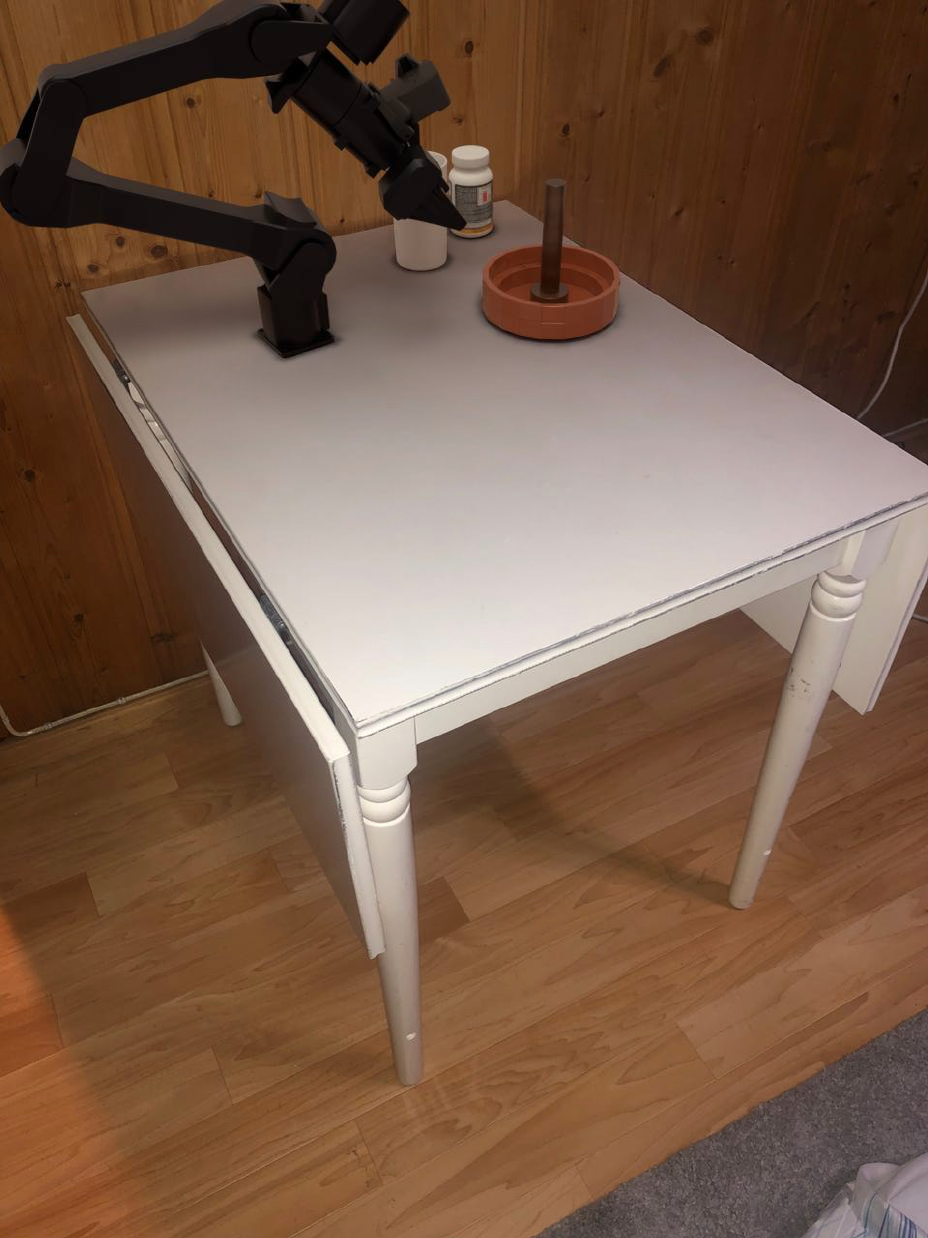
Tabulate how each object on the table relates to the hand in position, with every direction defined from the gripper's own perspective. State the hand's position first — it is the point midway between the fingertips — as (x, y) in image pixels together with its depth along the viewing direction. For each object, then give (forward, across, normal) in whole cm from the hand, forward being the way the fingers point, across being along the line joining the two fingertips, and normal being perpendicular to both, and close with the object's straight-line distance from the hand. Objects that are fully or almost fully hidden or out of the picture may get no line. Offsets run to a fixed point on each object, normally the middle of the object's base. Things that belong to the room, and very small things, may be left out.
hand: (455, 208), depth 107 cm
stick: (+16, 0, +1) cm, 16 cm away
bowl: (+16, 0, +1) cm, 17 cm away
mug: (+8, +17, +10) cm, 21 cm away
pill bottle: (+14, +23, +4) cm, 27 cm away
